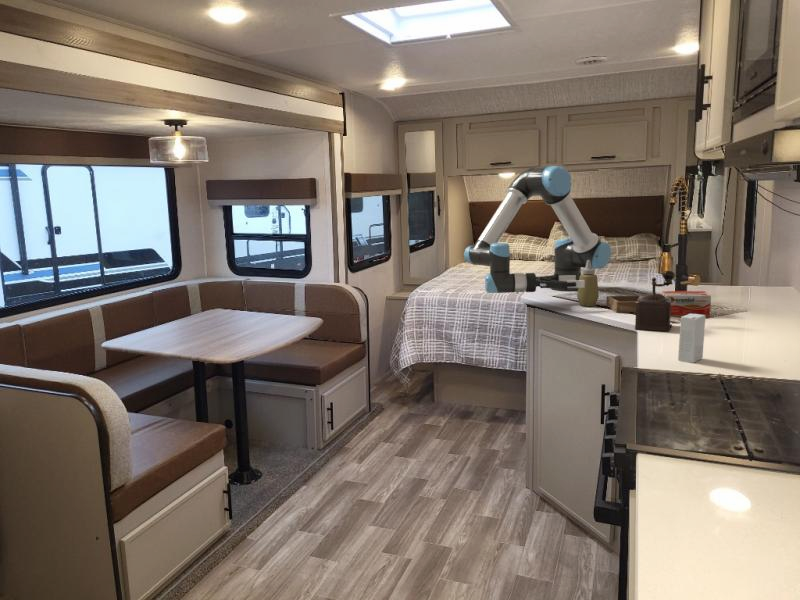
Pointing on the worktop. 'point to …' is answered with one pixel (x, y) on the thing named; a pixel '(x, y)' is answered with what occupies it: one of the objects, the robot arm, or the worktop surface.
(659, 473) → the worktop surface
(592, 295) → the squeeze bottle
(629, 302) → the walnut well
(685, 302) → the medicine box
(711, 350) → the worktop surface
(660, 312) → the manual coffee grinder
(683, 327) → the skincare box
